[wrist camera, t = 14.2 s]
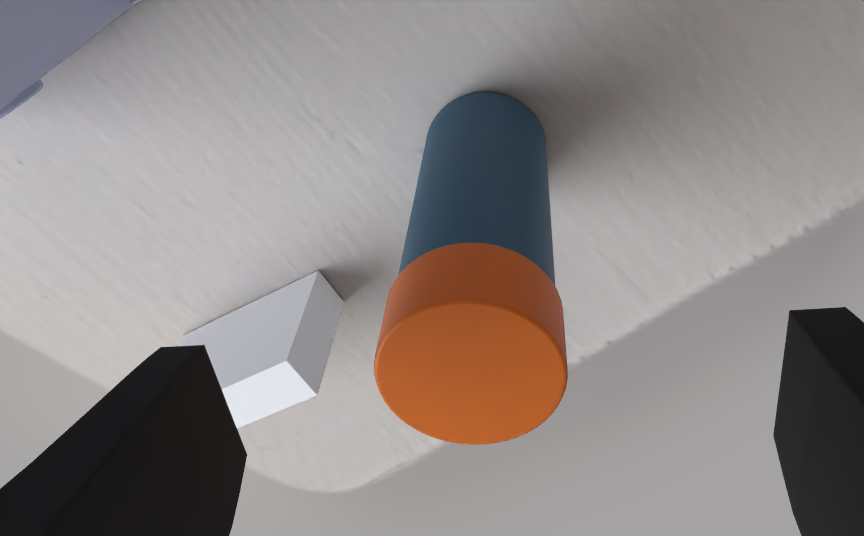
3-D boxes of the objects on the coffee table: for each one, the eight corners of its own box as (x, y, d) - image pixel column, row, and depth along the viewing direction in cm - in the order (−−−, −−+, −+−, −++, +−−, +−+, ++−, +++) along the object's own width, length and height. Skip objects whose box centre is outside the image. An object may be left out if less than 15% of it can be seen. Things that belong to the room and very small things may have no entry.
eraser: (345, 302, 22) (317, 396, 19) (211, 363, 24) (166, 458, 21) (318, 269, 22) (285, 360, 19) (183, 333, 23) (133, 427, 20)
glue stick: (548, 202, 20) (563, 448, 13) (425, 202, 20) (381, 443, 14) (552, 85, 18) (572, 302, 12) (418, 87, 18) (364, 299, 12)
